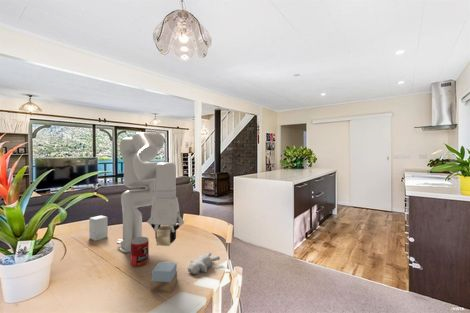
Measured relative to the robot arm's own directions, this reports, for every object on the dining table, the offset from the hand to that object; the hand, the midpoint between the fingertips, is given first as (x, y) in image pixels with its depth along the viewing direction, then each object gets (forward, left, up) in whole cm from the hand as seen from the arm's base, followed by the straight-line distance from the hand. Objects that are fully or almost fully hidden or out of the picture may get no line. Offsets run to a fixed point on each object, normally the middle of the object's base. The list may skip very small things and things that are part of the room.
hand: (165, 240), depth 88 cm
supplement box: (-62, +42, -18) cm, 77 cm away
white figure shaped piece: (+11, +16, -18) cm, 26 cm away
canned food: (-20, +16, -18) cm, 31 cm away
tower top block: (0, 0, -14) cm, 14 cm away
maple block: (0, 0, -1) cm, 1 cm away
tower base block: (0, 0, -18) cm, 18 cm away
